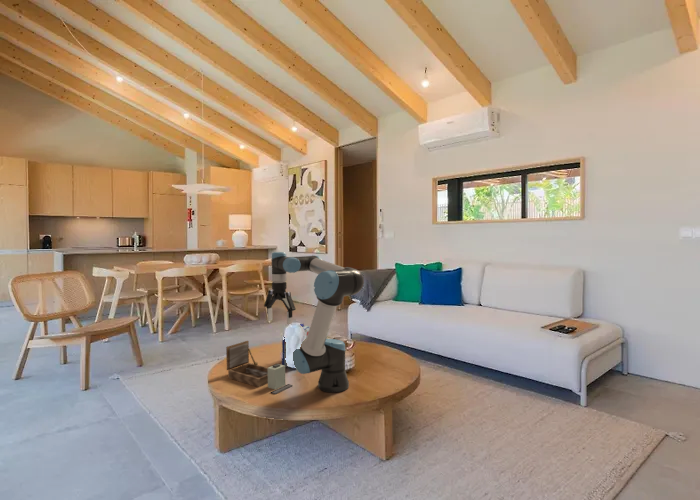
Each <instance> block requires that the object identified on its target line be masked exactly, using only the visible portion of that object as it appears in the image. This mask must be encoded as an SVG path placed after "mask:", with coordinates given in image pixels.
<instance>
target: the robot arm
mask: <svg viewBox="0 0 700 500" xmlns="http://www.w3.org/2000/svg"><path fill="white" fill-rule="evenodd" d="M305 271H306V272H308V271H309V272H311V273H315V274H316V275H317V276H315V279H314V281H313V282H314V283H313V287H314V288H313V292H314V294H315V296H316V299H317V300H318V301H317V304H316V306H315V307H316V308H315V310H314V313H313V316H312V320H311V323H310V326H309V327H310V329H309V332H308V336H307V339H306V340H304V341H303V342H302V344H301V347H300V349H296V350H295V351H294V352H293V361H294V365H295V367H296V370H297V372H298V373H299V374H301V375H305V374H310V373H315V372H319V371H320V372H321V373H320V375H319V378H318V382H317V388H318V389H319V390H320V391H322V392H325V393H340V392H345V391H346V390H348V389H349V386H350V382H349V380H348V374H347V372H346V344H345V342H344V341H343V340H340V339H335V338H327V337H328V335H329V331H330V329H331V325H332V322H333V319H334V317H335V313H336V312H337V311H336V310H337V308H338V307H339V306H341V305H342V303H343V300H344V297H348V296H354V295H356V294H358V293H360V292H361V290H362V289H363V287H364V286H365V285H364V283H365V279H364V276H363V274H362V272H361V271H359V270H358V269H357V268H353V267H349V266H346V267H343V266H341V265H338V264H335V263H332V262H330V261H326V260H323V259H322V257H321V256H319V255H305V256H287V253H286V252H285V251H275V252H274V251H273V252H272V253H271V289H269V290H267V296H266V299H265V302H264V304H263V307H264V308H266V314H267V321H268V322H270V321H273V320H274V318H273V306H274V304H275V302H276V301H277V300H279V301H281V302H282V303H283V305H284V306H285V309H286V310H287V311H286V325H291V324H292V321H293V312H294V311H295V310H296V309H297V308H296V306H295V303H294V301H293V298H292V294H291V291H286V290H287V282H286V281H287V273H289V274H291V273H293V274H294V273H297V272H305Z"/></svg>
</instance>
